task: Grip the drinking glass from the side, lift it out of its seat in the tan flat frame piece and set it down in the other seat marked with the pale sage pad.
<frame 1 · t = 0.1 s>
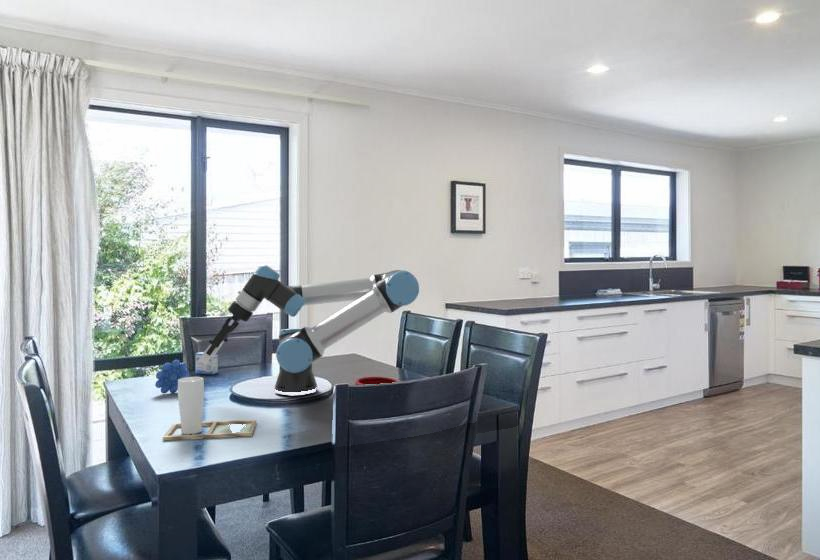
hand: (205, 358, 188), 15 cm above the table, tool tilted 35°, fingers open, 13 cm apart
grapes: (172, 393, 205), on the table
drinking glass: (191, 433, 159), resting in tan flat frame piece
medicine box: (206, 373, 240), on the table
tan flat frame piece: (212, 431, 160), on the table
plant pot: (377, 420, 172), on the table
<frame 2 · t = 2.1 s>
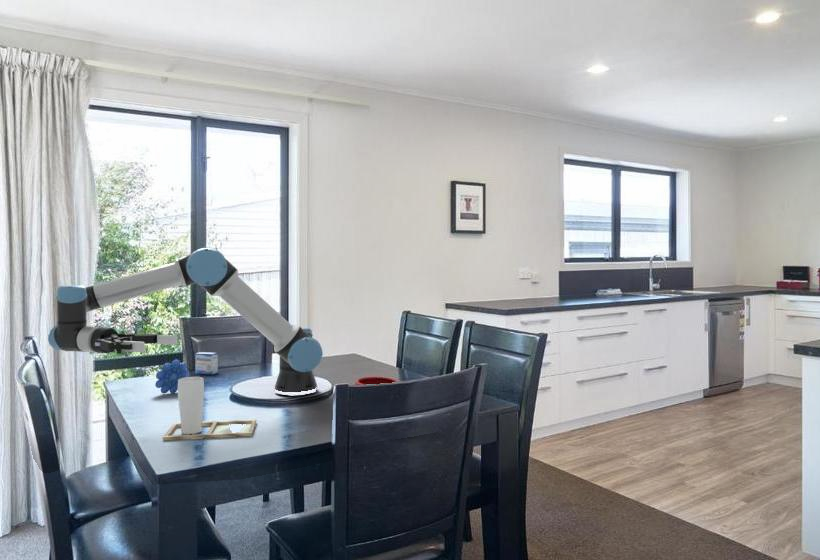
hand: (161, 343, 161), 24 cm above the table, tool horizontal, fingers open, 13 cm apart
nothing on the table moved.
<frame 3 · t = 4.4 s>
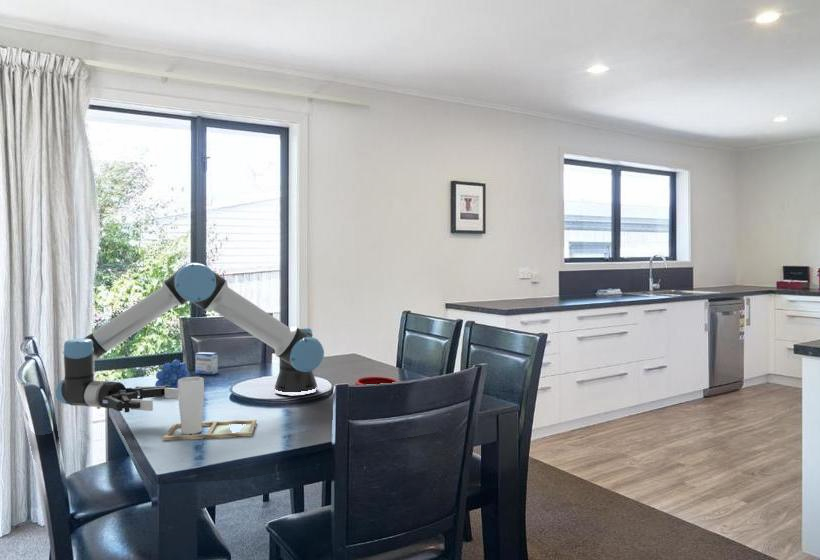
hand: (168, 399, 160), 9 cm above the table, tool horizontal, fingers open, 13 cm apart
nothing on the table moved.
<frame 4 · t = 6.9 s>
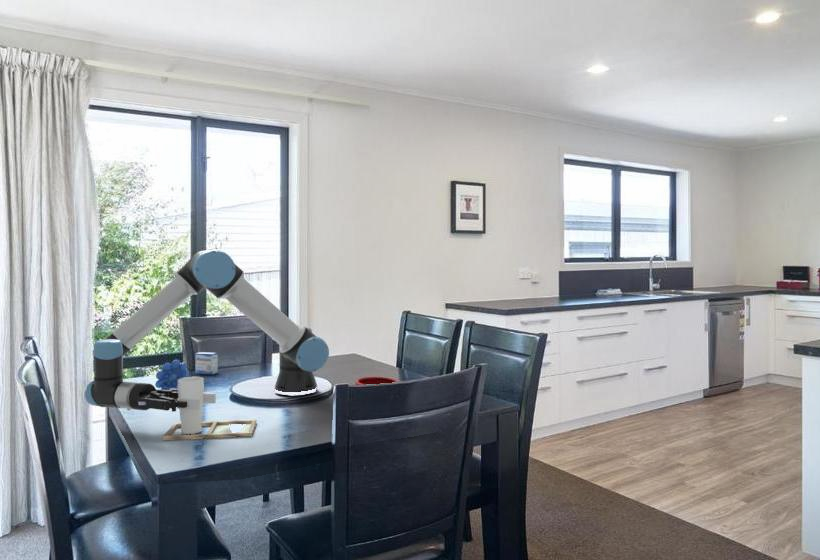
hand: (206, 401, 157), 9 cm above the table, tool horizontal, fingers closed on drinking glass, 7 cm apart
drinking glass: (191, 433, 159), resting in tan flat frame piece, touching gripper
everything else where it was.
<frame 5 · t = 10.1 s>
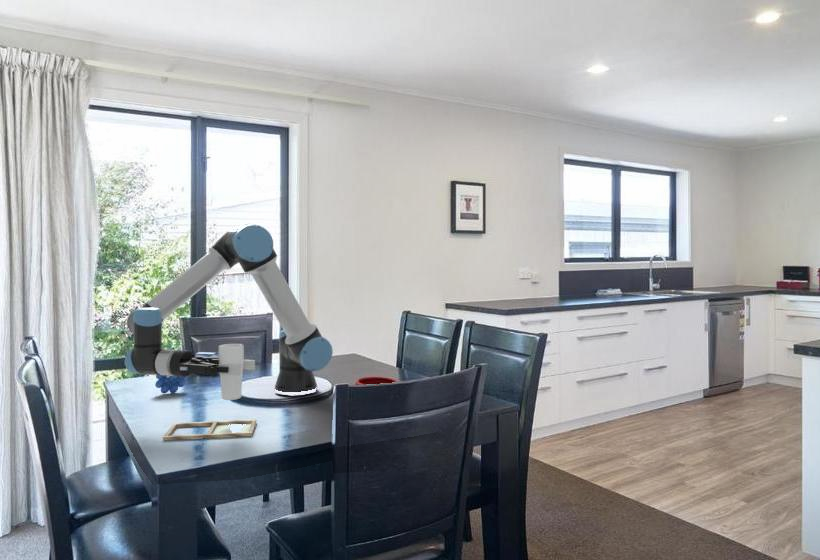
hand: (247, 367, 159), 18 cm above the table, tool horizontal, fingers closed on drinking glass, 7 cm apart
drinking glass: (231, 399, 160), point 9 cm above the table, touching gripper
everything else where it was.
when the fingers open (10 cm above the table, at t = 13.2 s): drinking glass stays where it is, resting on tan flat frame piece.
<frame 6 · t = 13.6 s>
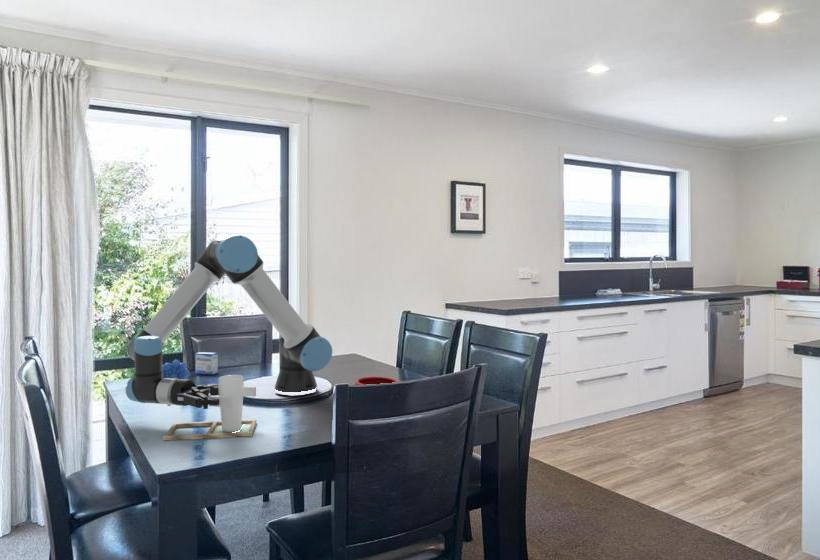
hand: (243, 396, 160), 10 cm above the table, tool horizontal, fingers open, 12 cm apart
drinking glass: (231, 430, 161), resting on tan flat frame piece
everything else where it was.
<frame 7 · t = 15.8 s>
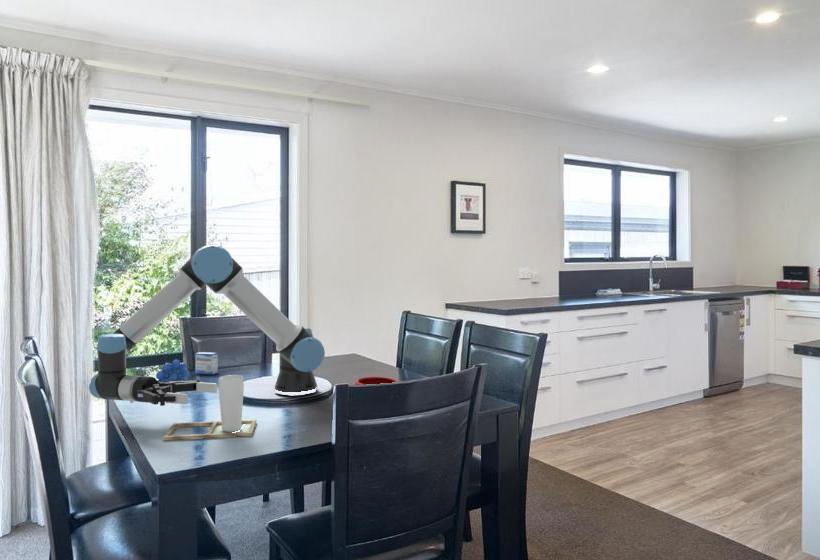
hand: (202, 393, 163), 10 cm above the table, tool horizontal, fingers open, 13 cm apart
nothing on the table moved.
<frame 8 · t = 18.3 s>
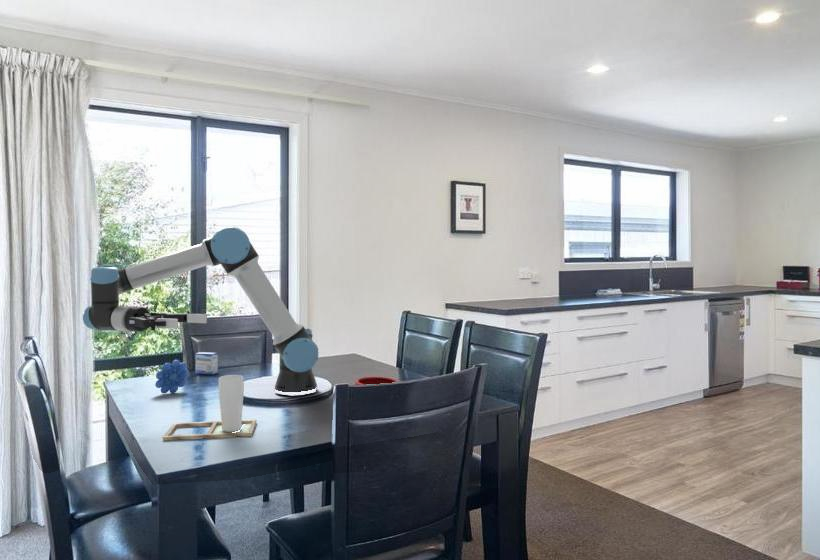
hand: (192, 321, 168), 30 cm above the table, tool horizontal, fingers open, 13 cm apart
nothing on the table moved.
at the end: drinking glass inside the target area on the tan flat frame piece (0.2 cm from its centre), point 0.0 cm above the tan flat frame piece's base; drinking glass tilted 0°; the gripper is holding nothing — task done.
